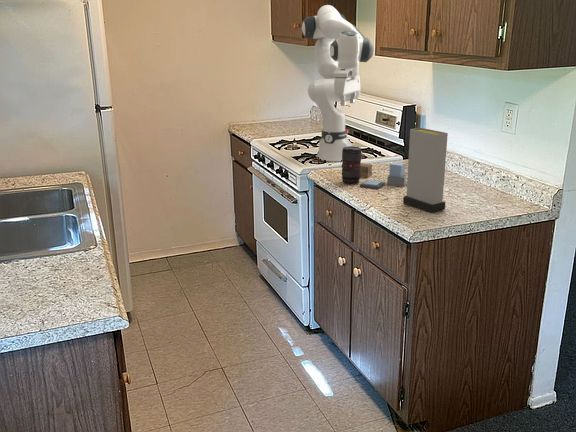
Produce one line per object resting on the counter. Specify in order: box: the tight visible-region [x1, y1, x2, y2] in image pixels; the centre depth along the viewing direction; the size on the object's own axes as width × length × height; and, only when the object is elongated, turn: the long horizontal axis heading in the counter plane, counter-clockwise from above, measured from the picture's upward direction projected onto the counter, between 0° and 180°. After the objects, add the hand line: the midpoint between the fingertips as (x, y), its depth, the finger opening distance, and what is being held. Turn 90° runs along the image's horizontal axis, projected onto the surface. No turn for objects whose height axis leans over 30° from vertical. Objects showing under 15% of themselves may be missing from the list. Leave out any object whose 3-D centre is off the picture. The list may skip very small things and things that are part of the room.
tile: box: [359, 179, 386, 190], centre depth 247 cm, size 8×8×2 cm
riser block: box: [386, 173, 408, 187], centre depth 249 cm, size 7×7×4 cm
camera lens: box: [341, 145, 363, 185], centre depth 250 cm, size 8×8×15 cm
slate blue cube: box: [388, 161, 406, 177], centre depth 248 cm, size 5×5×5 cm
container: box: [402, 127, 449, 213], centre depth 215 cm, size 7×18×30 cm, turn 34°
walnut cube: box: [360, 163, 373, 179], centre depth 262 cm, size 5×5×5 cm
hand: (347, 104), depth 255 cm, fingers open, 8 cm apart
